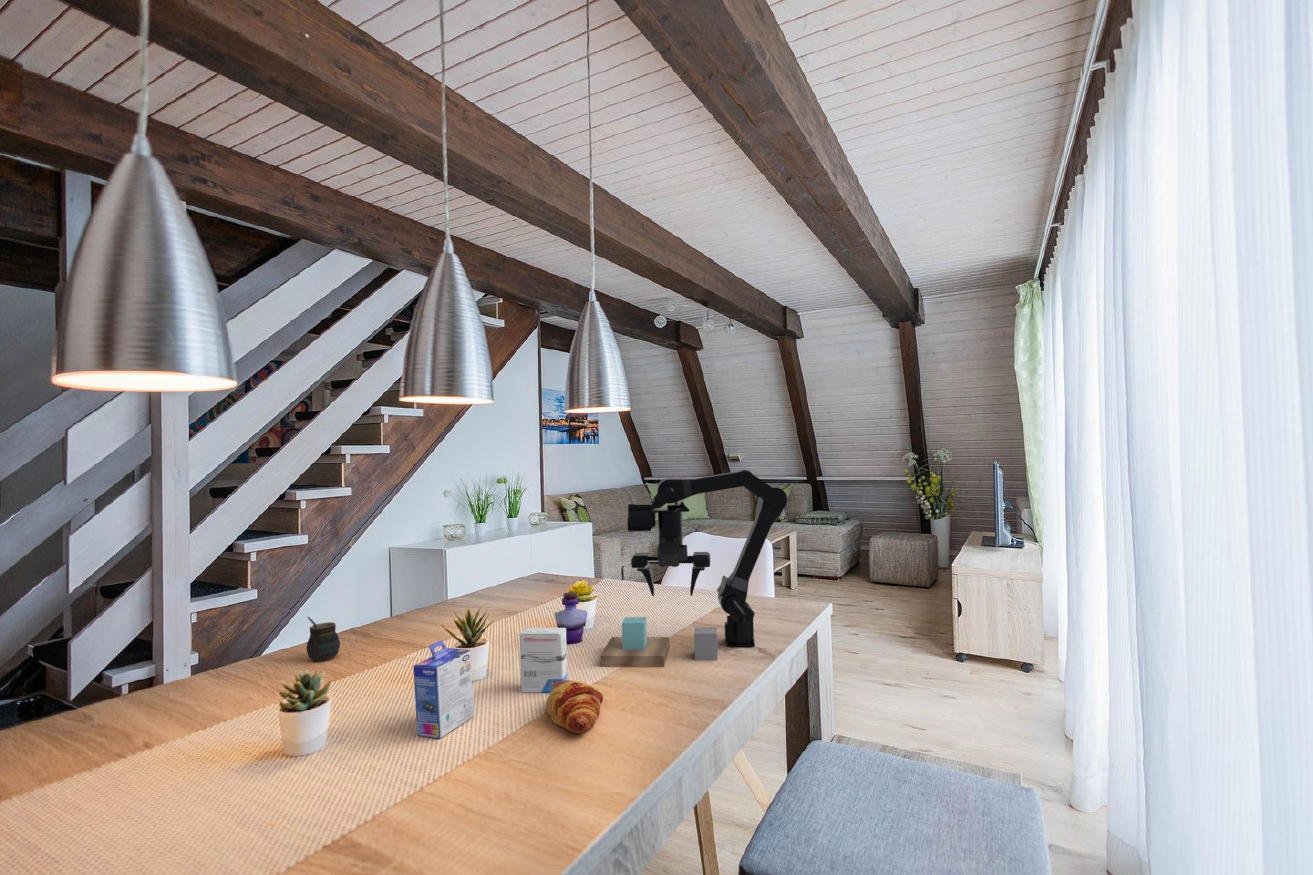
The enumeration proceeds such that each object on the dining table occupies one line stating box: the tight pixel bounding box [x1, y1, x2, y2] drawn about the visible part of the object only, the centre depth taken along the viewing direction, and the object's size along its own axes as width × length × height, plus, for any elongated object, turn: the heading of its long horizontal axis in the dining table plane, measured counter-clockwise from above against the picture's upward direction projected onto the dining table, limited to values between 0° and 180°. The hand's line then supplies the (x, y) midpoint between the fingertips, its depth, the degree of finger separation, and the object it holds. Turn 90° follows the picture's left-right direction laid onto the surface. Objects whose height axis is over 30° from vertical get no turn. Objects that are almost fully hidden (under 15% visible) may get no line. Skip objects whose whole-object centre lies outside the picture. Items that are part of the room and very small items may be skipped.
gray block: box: [693, 626, 719, 661], centre depth 150 cm, size 5×5×6 cm
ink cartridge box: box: [412, 640, 475, 739], centre depth 116 cm, size 10×6×14 cm, turn 161°
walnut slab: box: [599, 636, 671, 668], centre depth 151 cm, size 14×14×3 cm
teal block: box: [621, 616, 648, 650], centre depth 151 cm, size 5×5×6 cm
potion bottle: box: [554, 591, 588, 645], centre depth 165 cm, size 9×9×12 cm
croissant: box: [545, 679, 604, 734], centre depth 119 cm, size 21×10×8 cm, turn 16°
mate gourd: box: [306, 616, 341, 663], centre depth 157 cm, size 7×8×10 cm
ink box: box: [518, 627, 568, 694], centre depth 133 cm, size 8×5×12 cm, turn 84°
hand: (672, 595), depth 158 cm, fingers open, 9 cm apart
